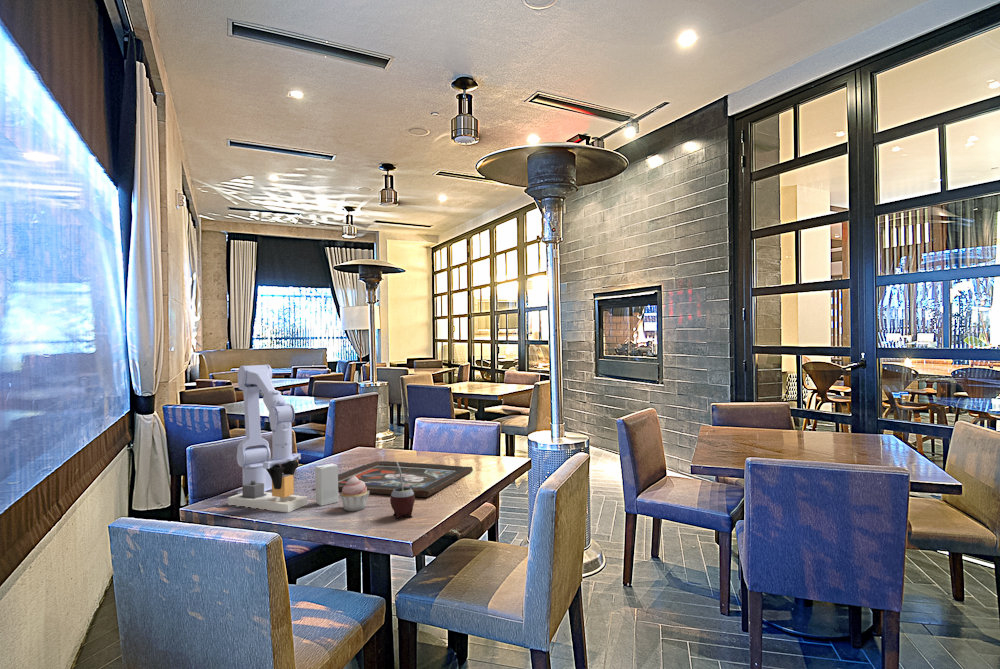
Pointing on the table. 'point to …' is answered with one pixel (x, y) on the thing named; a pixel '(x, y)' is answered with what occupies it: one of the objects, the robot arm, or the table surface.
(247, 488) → the twin plug
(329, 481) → the skincare box
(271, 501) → the white recessed tray
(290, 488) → the orange block
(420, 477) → the religious icon
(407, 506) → the mate gourd
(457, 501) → the table surface
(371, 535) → the table surface
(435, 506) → the table surface
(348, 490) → the cupcake
